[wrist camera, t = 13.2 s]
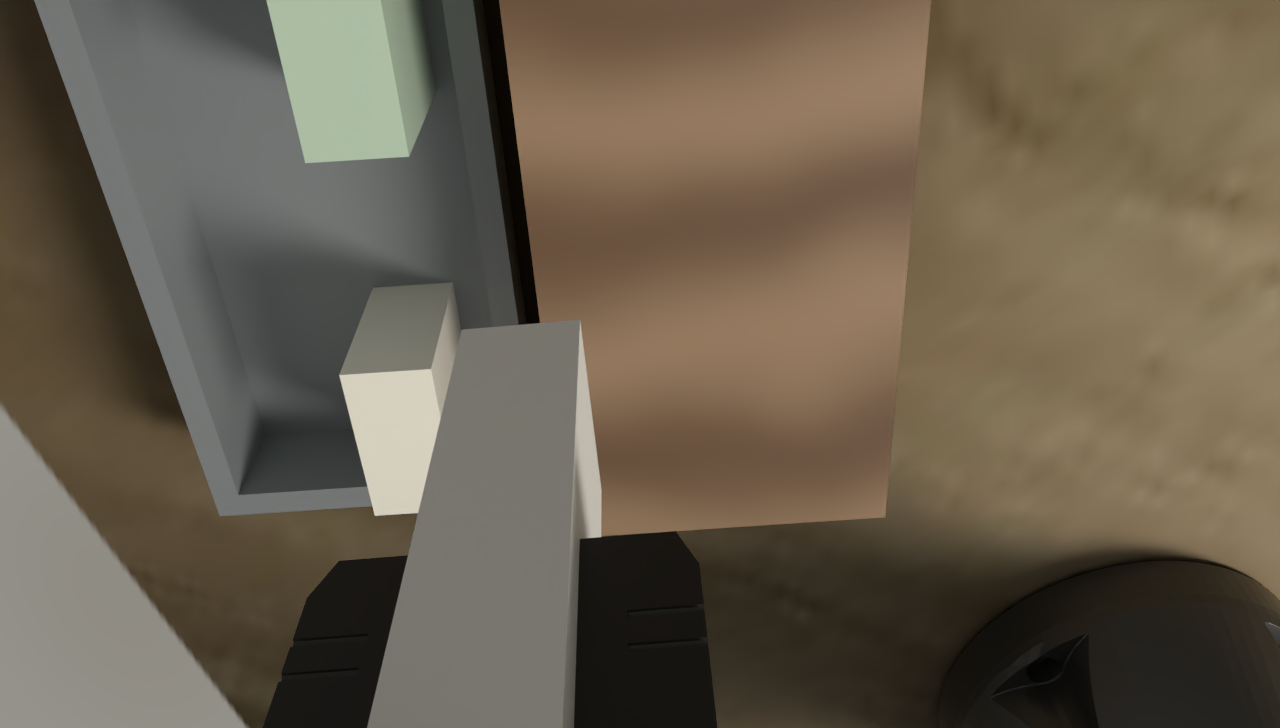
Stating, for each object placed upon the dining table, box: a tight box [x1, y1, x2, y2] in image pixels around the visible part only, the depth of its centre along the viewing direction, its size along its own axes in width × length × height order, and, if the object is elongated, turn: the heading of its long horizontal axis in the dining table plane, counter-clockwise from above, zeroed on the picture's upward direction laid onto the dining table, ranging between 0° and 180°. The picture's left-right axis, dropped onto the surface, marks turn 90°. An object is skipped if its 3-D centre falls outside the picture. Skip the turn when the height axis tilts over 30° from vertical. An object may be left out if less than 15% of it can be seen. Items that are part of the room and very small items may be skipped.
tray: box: [34, 0, 527, 516], centre depth 30 cm, size 18×10×4 cm, turn 3°
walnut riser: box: [499, 0, 931, 536], centre depth 30 cm, size 20×10×5 cm, turn 3°
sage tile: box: [266, 0, 436, 163], centre depth 26 cm, size 5×5×2 cm
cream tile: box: [339, 282, 461, 516], centre depth 32 cm, size 5×5×2 cm
